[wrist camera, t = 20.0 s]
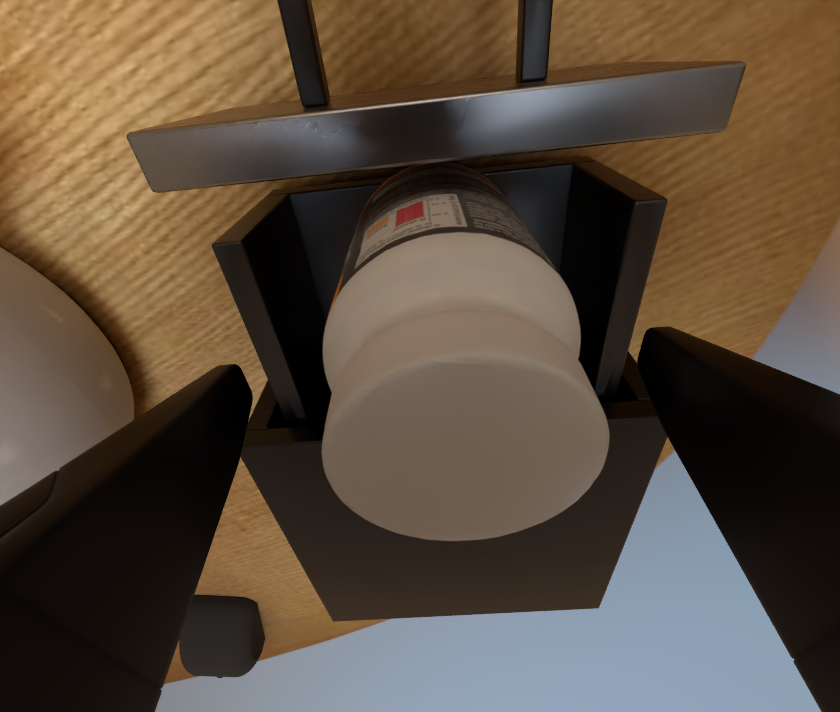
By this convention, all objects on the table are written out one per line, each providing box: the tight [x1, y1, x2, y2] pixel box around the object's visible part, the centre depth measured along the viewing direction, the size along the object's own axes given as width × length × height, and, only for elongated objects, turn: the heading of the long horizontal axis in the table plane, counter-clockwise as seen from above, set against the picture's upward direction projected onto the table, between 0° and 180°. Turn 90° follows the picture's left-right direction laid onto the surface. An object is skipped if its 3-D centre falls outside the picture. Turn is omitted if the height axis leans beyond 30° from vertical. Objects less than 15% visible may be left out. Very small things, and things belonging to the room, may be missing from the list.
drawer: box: [127, 0, 746, 427], centre depth 12 cm, size 17×12×6 cm
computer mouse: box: [179, 595, 265, 678], centre depth 37 cm, size 6×11×4 cm, turn 172°
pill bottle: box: [322, 162, 609, 541], centre depth 10 cm, size 6×6×10 cm
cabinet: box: [241, 352, 668, 621], centre depth 19 cm, size 14×14×8 cm
